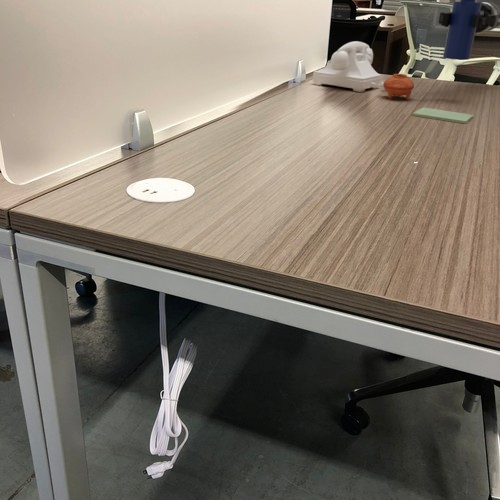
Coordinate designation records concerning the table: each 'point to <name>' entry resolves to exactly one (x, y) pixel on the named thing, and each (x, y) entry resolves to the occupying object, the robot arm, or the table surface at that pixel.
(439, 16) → the robot arm
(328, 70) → the telephone
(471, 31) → the bottle
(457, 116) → the mat
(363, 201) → the table surface
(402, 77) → the pot
